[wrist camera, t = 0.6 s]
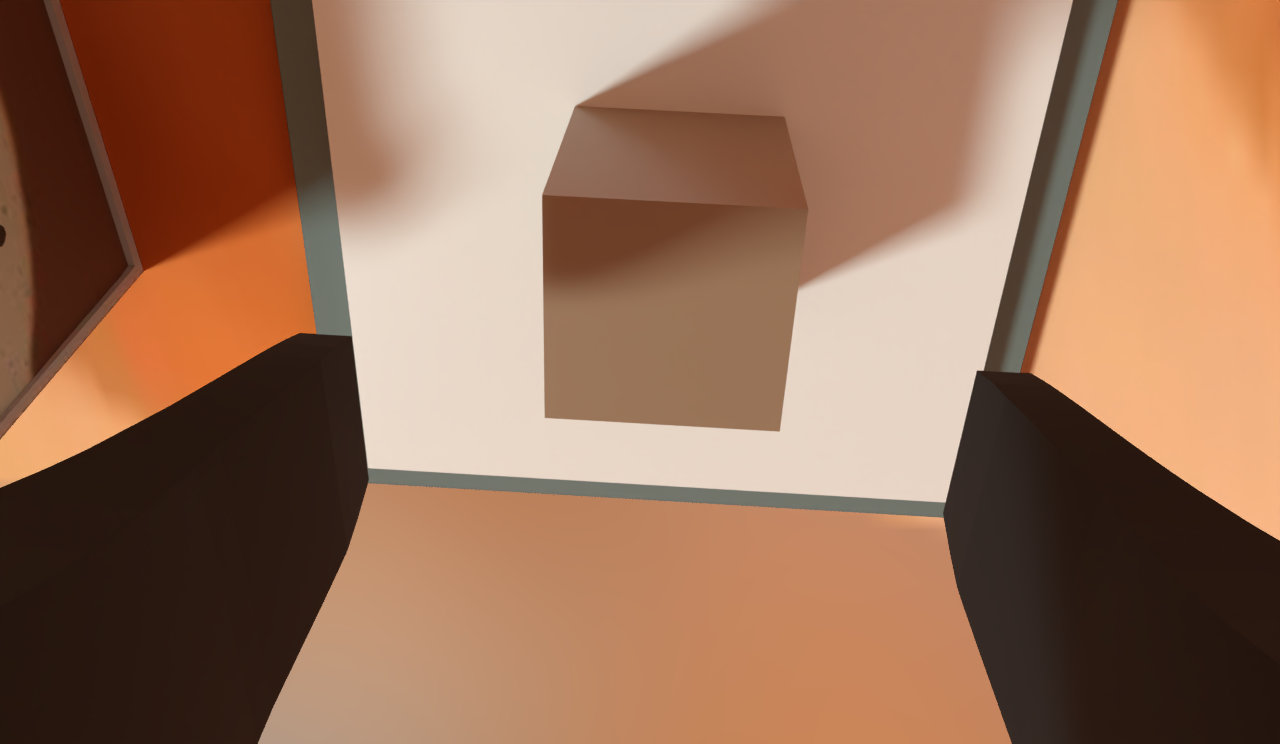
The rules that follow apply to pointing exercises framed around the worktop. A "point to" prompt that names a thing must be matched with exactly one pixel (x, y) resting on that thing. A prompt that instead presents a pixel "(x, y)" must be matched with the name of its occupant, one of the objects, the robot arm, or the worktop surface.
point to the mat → (1004, 355)
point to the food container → (51, 207)
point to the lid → (680, 231)
